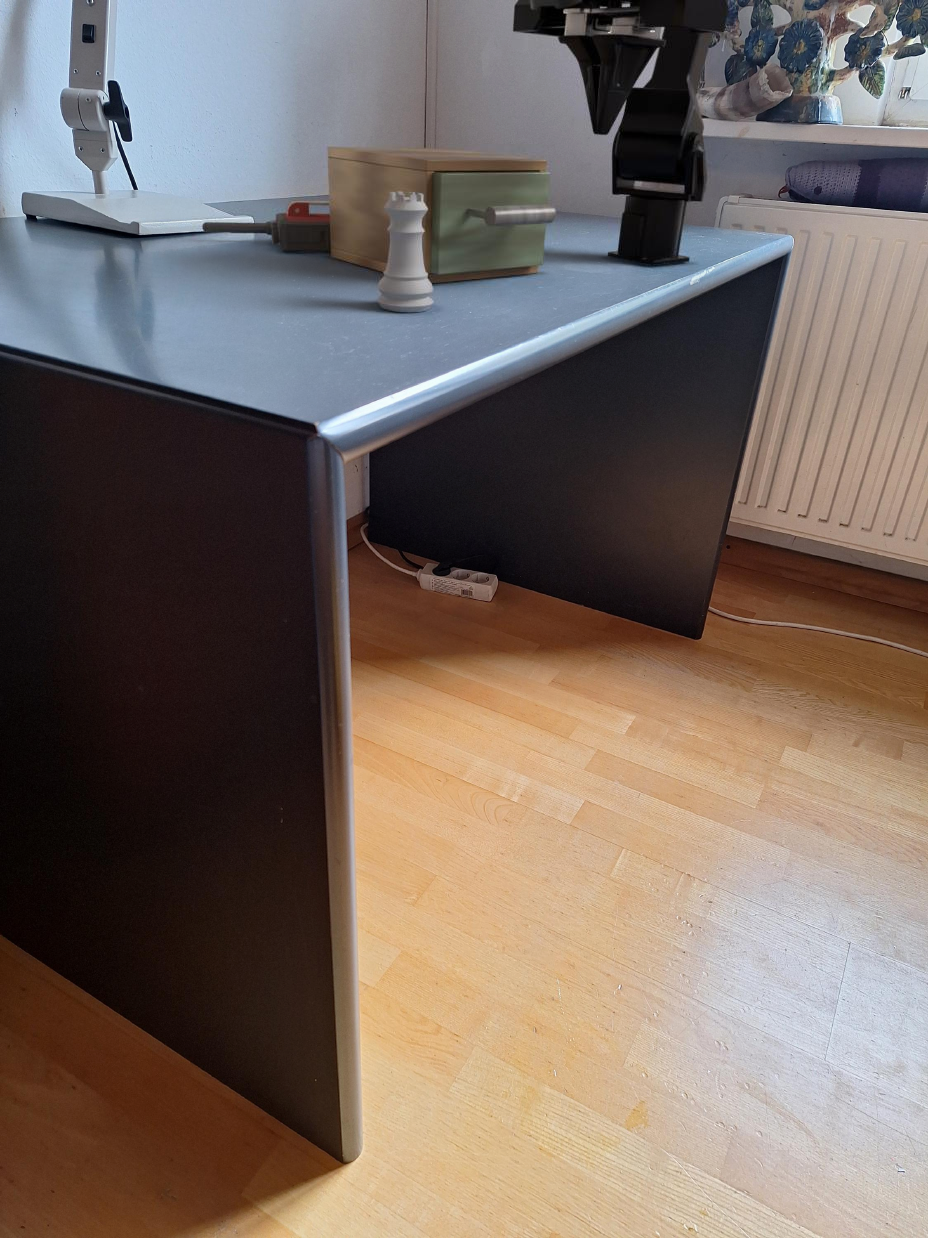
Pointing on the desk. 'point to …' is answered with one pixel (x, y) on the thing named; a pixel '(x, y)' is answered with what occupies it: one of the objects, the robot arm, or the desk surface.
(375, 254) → the cabinet
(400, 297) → the rook chess piece
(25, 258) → the desk surface
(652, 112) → the robot arm
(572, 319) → the desk surface
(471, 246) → the drawer
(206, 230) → the walkie-talkie
